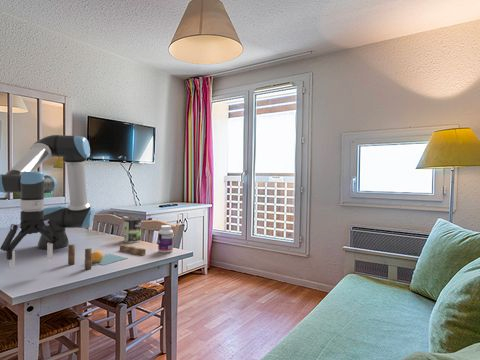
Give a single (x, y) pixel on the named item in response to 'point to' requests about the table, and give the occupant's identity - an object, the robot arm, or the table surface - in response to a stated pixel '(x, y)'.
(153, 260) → the table surface
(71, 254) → the post
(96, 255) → the ball
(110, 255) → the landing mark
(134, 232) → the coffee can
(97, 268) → the table surface
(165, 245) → the pill bottle
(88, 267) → the post
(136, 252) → the wooden bar
